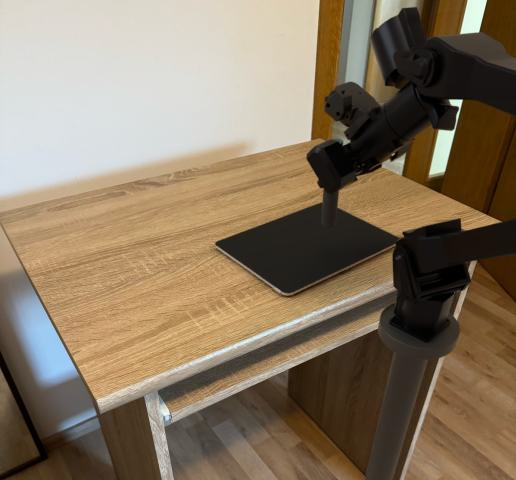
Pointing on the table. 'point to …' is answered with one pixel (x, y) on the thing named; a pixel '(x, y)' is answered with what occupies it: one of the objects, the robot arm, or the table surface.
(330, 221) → the teal capped marker
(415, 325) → the robot arm
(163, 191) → the table surface
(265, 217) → the table surface
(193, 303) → the table surface
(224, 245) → the tablet
